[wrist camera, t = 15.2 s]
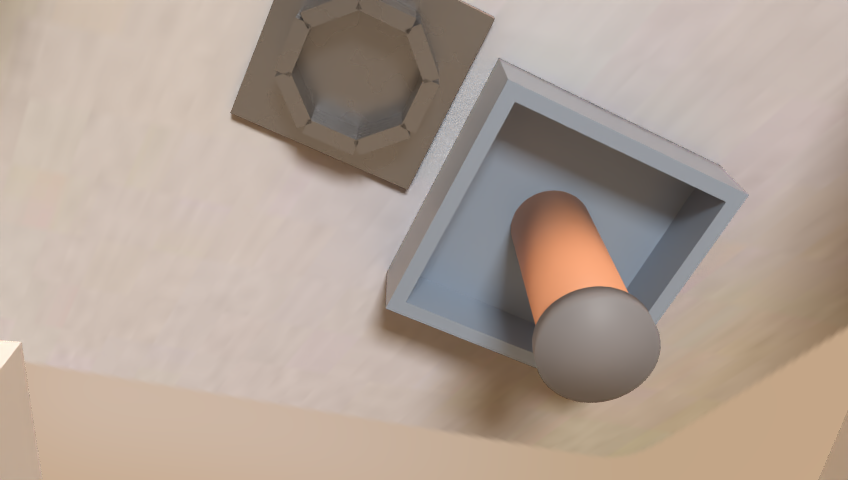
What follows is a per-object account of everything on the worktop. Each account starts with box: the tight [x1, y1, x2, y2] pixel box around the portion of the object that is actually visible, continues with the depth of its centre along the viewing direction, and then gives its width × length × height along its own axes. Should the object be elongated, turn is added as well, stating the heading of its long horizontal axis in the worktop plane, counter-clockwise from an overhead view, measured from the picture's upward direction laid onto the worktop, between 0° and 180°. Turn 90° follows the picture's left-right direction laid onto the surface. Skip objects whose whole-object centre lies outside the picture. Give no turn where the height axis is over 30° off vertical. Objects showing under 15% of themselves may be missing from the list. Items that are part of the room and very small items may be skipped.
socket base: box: [231, 0, 495, 190], centre depth 39 cm, size 10×10×2 cm
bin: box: [386, 58, 749, 368], centre depth 42 cm, size 14×14×4 cm
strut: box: [511, 190, 661, 403], centre depth 38 cm, size 5×5×12 cm
